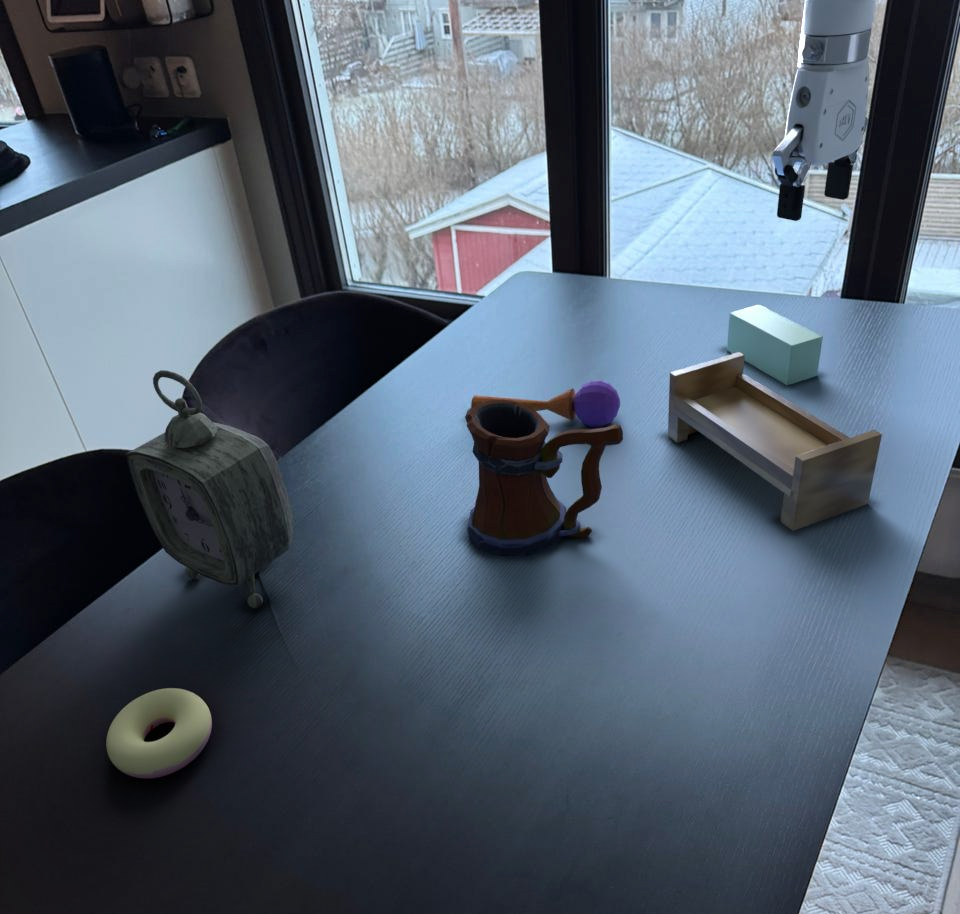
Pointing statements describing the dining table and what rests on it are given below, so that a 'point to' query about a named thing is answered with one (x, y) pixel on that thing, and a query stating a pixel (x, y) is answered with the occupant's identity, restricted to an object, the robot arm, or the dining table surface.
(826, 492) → the rack
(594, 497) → the mug
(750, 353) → the bar
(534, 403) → the purple ball wooden maraca
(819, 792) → the dining table surface
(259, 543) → the tabletop clock
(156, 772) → the donut
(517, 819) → the dining table surface
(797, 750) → the dining table surface
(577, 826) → the dining table surface
